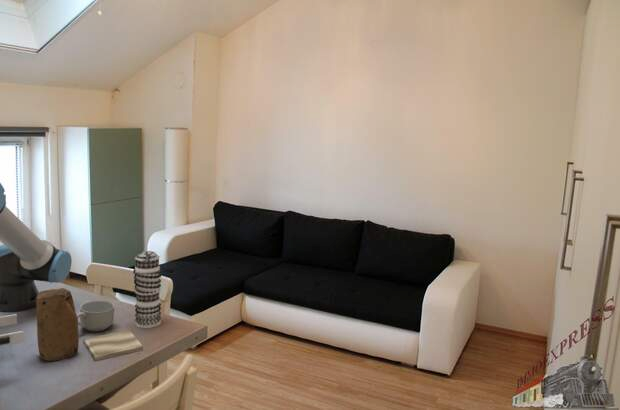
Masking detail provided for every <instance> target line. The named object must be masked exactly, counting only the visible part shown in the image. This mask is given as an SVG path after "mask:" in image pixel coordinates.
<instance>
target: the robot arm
mask: <svg viewBox="0 0 620 410" xmlns="http://www.w3.org/2000/svg"><path fill="white" fill-rule="evenodd" d="M5 192H6V190H5V188H4V185H3V184H2V183H1V182H0V242H1V243H2V244H1V245H0V312H6V313H7V312H10V313H11V312H19V311H25V310H30V309H32V308H35V307H36V300H37V295H38V293H39V292H40V291H39V289H38V287H37V285H36V283H35V281H39V282H45V283H50V284H53V283H55V284H58V283H61V282H63V281H64V280H66V278H67V277H68V276H69V273H70V272H71V269H72V261H73V259H72V255H71V253H70V252H69V251H68V250H65V249H58V248H56V247H55V246H54V244H52V242H50V241H48V240H45V239H40V238H39V236H37V235H36V234H35V233H34V232H33V231H32V230H31V229H30V228H29V227H28V226H27V225H26V224H25V223H24V222H23V221H22V220H21V219H20V218H19V217H18V216H16V215H15V214H14V212H13V211H12V210H11V209H10V208H8V207H7V200H6V199H7V198H6V197H7V194H5ZM17 324H18V315H17V313H14V314H10V315H8V314H7V315H2V316H0V327H5V326H11V325H12V326H13V325H17ZM24 337H25V336H24V330H19V331H15V332H13V331H12V332H10V333H4V334H0V346H5V345H11V344H16V343H22V342H24V340H25V338H24Z"/></svg>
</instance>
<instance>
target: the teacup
mask: <svg viewBox="0 0 620 410" xmlns="http://www.w3.org/2000/svg"><path fill="white" fill-rule="evenodd" d="M115 308H116V306H115V303H113V302H112V301H109V300H104V299H97V300H96V299H95V300H89V301H88V300H87V301H85V302H83V303H82V304H80V306H79V312H76V315H77V320H78V327H82V328H83V329H85V330H87V331H89V332H101V331H105V330H106V329H108V328H109V327H111V325H112V324H113V322H114V320H115V319H114V317H115Z"/></svg>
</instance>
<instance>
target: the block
mask: <svg viewBox="0 0 620 410" xmlns="http://www.w3.org/2000/svg"><path fill="white" fill-rule="evenodd" d="M38 292H39V293H38V295H37V300H36V306H35V307H36V329H37V330H36V336H37V347H38V353H39V357H40V358H41V360H44V361H46V362H47V361H48V362H55V361H59V360H63V359H64V358H65V359H66V358H69V357H70V358H71V357H73V356H75V354H77V353H78V350H79V345H80V343H79V325H78V322H79V319H78V320H77V315H76V314H77V312H76V308H75V303H74V299H73V295H72V291H70V290H68V289H66V288H64V287H62V288H61V287H60V288H51V289H46V290H42V291H38Z"/></svg>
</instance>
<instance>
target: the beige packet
mask: <svg viewBox="0 0 620 410" xmlns="http://www.w3.org/2000/svg"><path fill="white" fill-rule="evenodd" d="M83 344H84V345H85V347H86V349H87V350H88V352H89V355H91V357H92V358H93V360H94V361H95V362H96V361H100V360H101V361H102V360H106V359H110V358H115V357H118V356H122V355H127V354H131V353H136V352H140V351H143V350H144V345H143V344H142V343H141V342H140V341H139V340H138V338H137V337H136V336H135V335H134V334H133V332H131V330H130V329H125V330H122V331H116V332H112V333H108V334H103V335H98V336H93V337H89V338H84V339H83Z"/></svg>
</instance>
